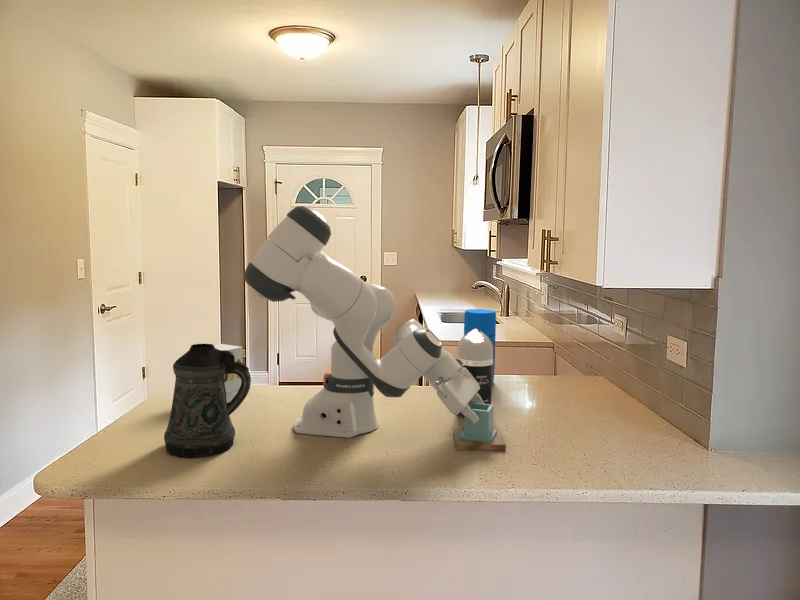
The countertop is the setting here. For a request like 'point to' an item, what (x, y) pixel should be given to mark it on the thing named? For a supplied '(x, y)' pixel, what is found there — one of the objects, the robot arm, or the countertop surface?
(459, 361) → the robot arm
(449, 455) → the countertop surface
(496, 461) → the countertop surface
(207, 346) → the beer stein
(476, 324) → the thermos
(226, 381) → the supplement box
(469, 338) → the black white cylinder
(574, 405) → the countertop surface
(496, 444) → the walnut post base
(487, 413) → the flanged sleeve
